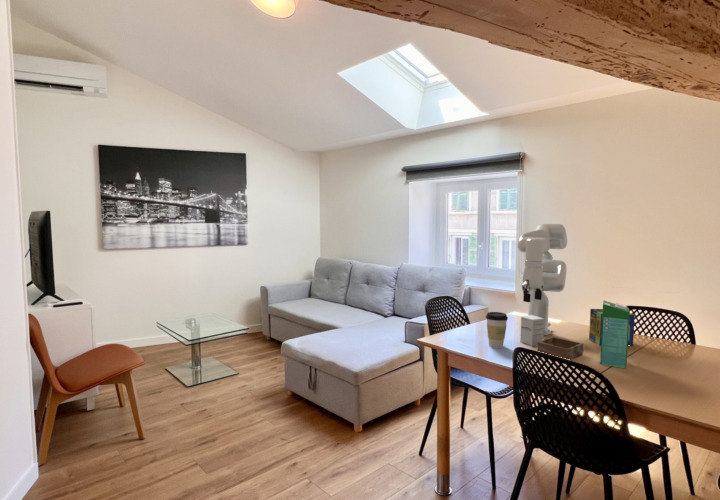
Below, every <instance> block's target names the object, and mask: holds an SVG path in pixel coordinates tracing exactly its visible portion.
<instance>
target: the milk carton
mask: <svg viewBox="0 0 720 500" xmlns="http://www.w3.org/2000/svg"><path fill="white" fill-rule="evenodd" d="M602 309H603V314H602V335H601V346H600V359H599V361H600V362H599V364H600V365H603V366H609V367H615V368H621V369H627V368H628V364H627V363H628V350H629V349H628V348H629V347H628V331H629V312H630V308H629V307H628V305H626V304H623V303H619V302H615V303H613V302H611V301H607V300H603V302H602Z"/></svg>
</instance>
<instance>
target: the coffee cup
mask: <svg viewBox="0 0 720 500" xmlns="http://www.w3.org/2000/svg"><path fill="white" fill-rule="evenodd" d="M485 318H486V329H487V338H488V346H490V347H491V348H499V349H500V348H503V347H504V341H505V337H506V329H507V323H508V316H507V314H506V313H505V312H500V311H490V312H487V313H486V315H485Z"/></svg>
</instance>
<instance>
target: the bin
mask: <svg viewBox="0 0 720 500" xmlns="http://www.w3.org/2000/svg"><path fill="white" fill-rule="evenodd" d="M536 346H537V347H536V348H537V351H540V352H544V353H547V354H551V355H554V356H558V357H562V358H566V359H570V361H572V360H574V359H577V358H579V357H581V356H583V355H584V343H583V342H578V341H573V340H569V339H565V338H561V337H557V336H550V337H546V338H545V339H544V338H543V340H542V341H539V342H538V345H536ZM537 351H536V352H537ZM576 357H577V358H576Z"/></svg>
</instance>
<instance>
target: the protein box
mask: <svg viewBox="0 0 720 500" xmlns="http://www.w3.org/2000/svg"><path fill="white" fill-rule="evenodd" d="M589 310H590V311H589V332H588V333H589V335H588V340H590V341H591V342H592V343H594V344H596V345H598V346H599V347H601V335H602V314H603V308H590V309H589ZM635 317H636V315H635V314H634V313H632V312H630V311H629V331H628V345H630V346H633V347H634V336H635V335H634V332H635V331H634V330H635V319H636V318H635Z"/></svg>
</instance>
